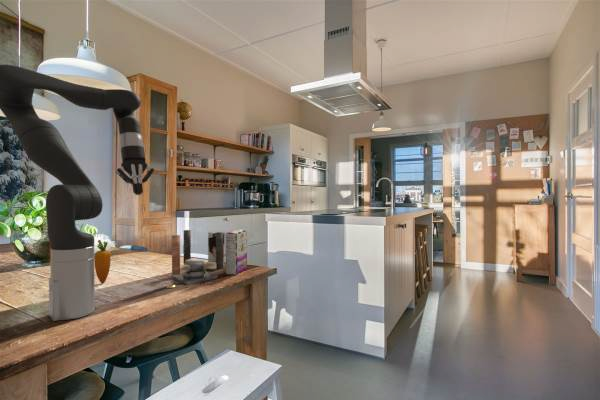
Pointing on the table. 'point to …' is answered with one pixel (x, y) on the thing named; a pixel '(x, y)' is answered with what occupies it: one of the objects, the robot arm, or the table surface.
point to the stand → (192, 277)
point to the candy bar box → (236, 251)
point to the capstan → (188, 263)
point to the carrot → (102, 262)
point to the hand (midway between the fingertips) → (138, 194)
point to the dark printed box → (214, 246)
